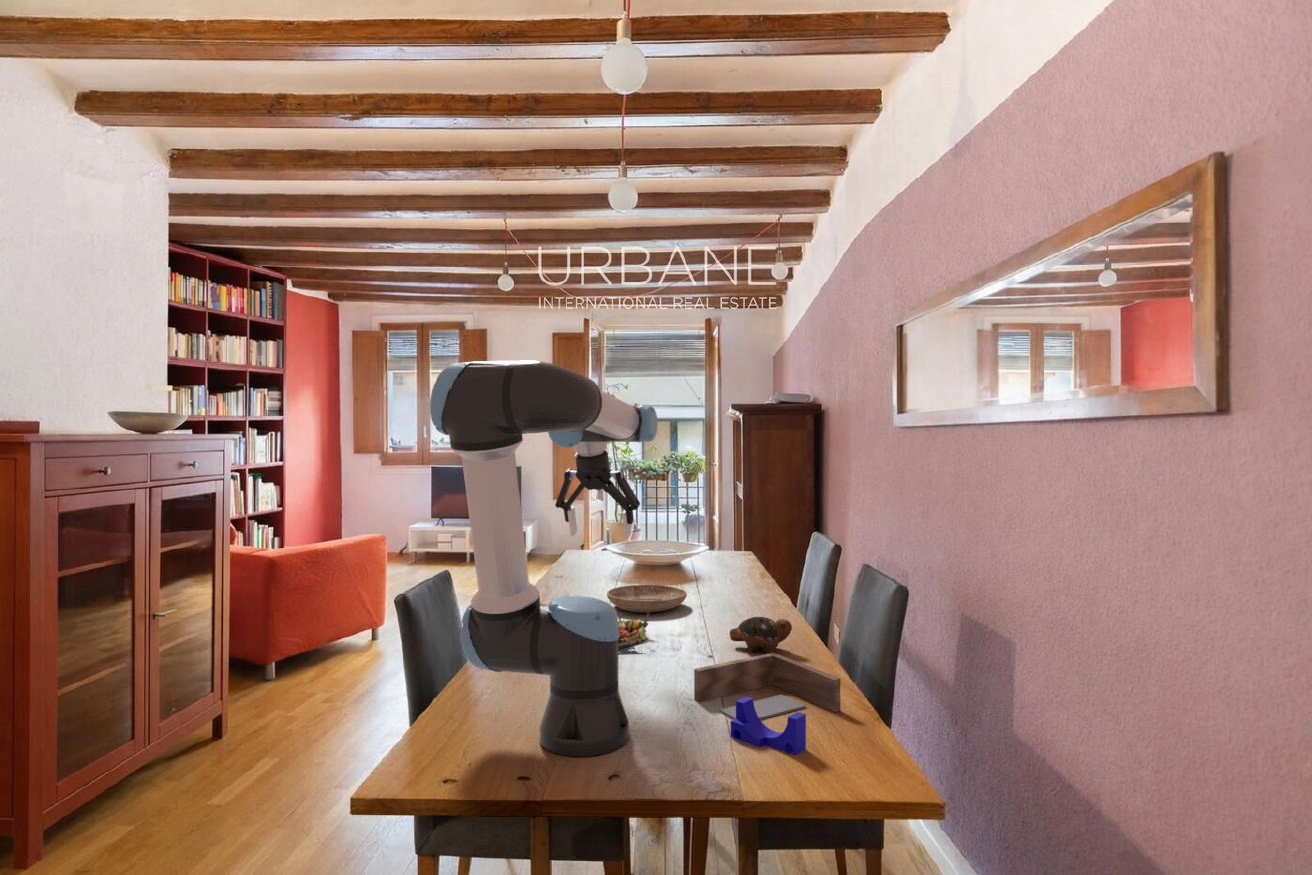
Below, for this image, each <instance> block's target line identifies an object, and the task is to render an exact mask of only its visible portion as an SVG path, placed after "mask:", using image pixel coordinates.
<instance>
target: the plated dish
mask: <svg viewBox="0 0 1312 875" xmlns="http://www.w3.org/2000/svg"><path fill="white" fill-rule="evenodd" d="M622 614H623V613H622V612H621V613H620V614H619V616H618V629H619V656H620V655H621V656H623V655H629V656H630V655H642V654H644V655H646V652H642V653H639V651H640V650H639V648H637V649H638V651H637V650H636V647H635V644H637V645H639V644H640V643H642V642H644V641H646V640H647V635H646V632H647V630H646V628H647V627H648V626H649V624H650V623H649V622H648V621H649V617H650V616H649V615H650V613H649V612H648V613H646V617H645V618H644V621H643V622H642V621H641V619H638V620H634V619H627V620H626V619H622ZM638 643H639V644H638Z"/></svg>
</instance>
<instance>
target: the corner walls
mask: <svg viewBox="0 0 1312 875" xmlns="http://www.w3.org/2000/svg"><path fill="white" fill-rule="evenodd" d="M693 670H694V671H693V673H694V674H693V676H694V677H693V678H694V679H693V680H694V681H693V682H694V683H693V684H694V685H693V687H694V688H693V689H694V693H693V694H694V698H693V700H694V701H696V702H697V703H701V702H704V701H705V702H706V701H709V700H713V699H718V698H722V697H726V696H730V695H734V694H740V693H743V692H746V691H752V690H755V689H759V688H764V687H768V686H774V687H778V688H779V689H781V690H784V691H786V692H789V693H791V694H793V695H795V696H797V697H799V698H802V699H804V700H806V701H809V702H811V703H812V704H815V705H817V706H819V707H822V708H824V709H827V710H828V711H831V712H833V713H837V712H841V678H840V677H838V676H835V675H833V674H830V673H827V672H825V671H822V670H819V669H817V668H814V667H812V666H809V665H806V664H804V663H801V662H799V661H797V660H795V659H791V658H789V657H786V656H783V655H782V654H781V655H780V654H778V653H775V652H773V653H769V654H767V653H766V654H760V655H755V656H751V657H745V658H741V659H737V660H731V661H727V662H726V661H725V662H721V663H717V664H712V665H706V666H702V667H697V668H694V669H693Z"/></svg>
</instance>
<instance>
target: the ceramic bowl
mask: <svg viewBox="0 0 1312 875" xmlns="http://www.w3.org/2000/svg"><path fill="white" fill-rule="evenodd" d="M606 596H607V599H608V601H609V602H610V603H611V604H612V605H613V606H615V607H617V608H619V609H620V610H624V611H627V612H632V613H640V614H643V613H644V614H647V613H648V612H649V614H650V613H658V612H660V613H661V612H664V611H669V610H671V609H674V608H676V607H678V606H679V605H682V603H683V602H685V600H686V598H687V596H688V594H687V591H685V590H684V589H681V588H679V587H673V586H670V585H669V586H668V585H662V584H636V585H635V584H634V585H633V584H631V585H624V586H619V587H618V586H617V587H613V588H611V589H609V590H608V591H607V593H606Z"/></svg>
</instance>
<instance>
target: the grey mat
mask: <svg viewBox="0 0 1312 875" xmlns="http://www.w3.org/2000/svg"><path fill="white" fill-rule="evenodd" d="M753 702H754V708H755V711H756V713H757V715H758V717H759V719H760V720H761V721H762V720H765V719H767V718H768V719H769V718H772V717H776V716H779V715H783V714H786V713H790V712H794V711H799V710H803V709H806V705H805V704H803V703H801V702H799V701H796V700H795V699H792V698H790V697H789V696H786V695H783V694H781V693H780V694H777V695H773V696H769V697H765V698H764V697H763V698H760V699H757V700H756V699H755V700H753ZM718 712H719V713H721V714H723V715H725V716H727V718H730V719H731V720H734V719H736V704H735V705H732V706H728V707H723V708H720V709H719V711H718Z"/></svg>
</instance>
